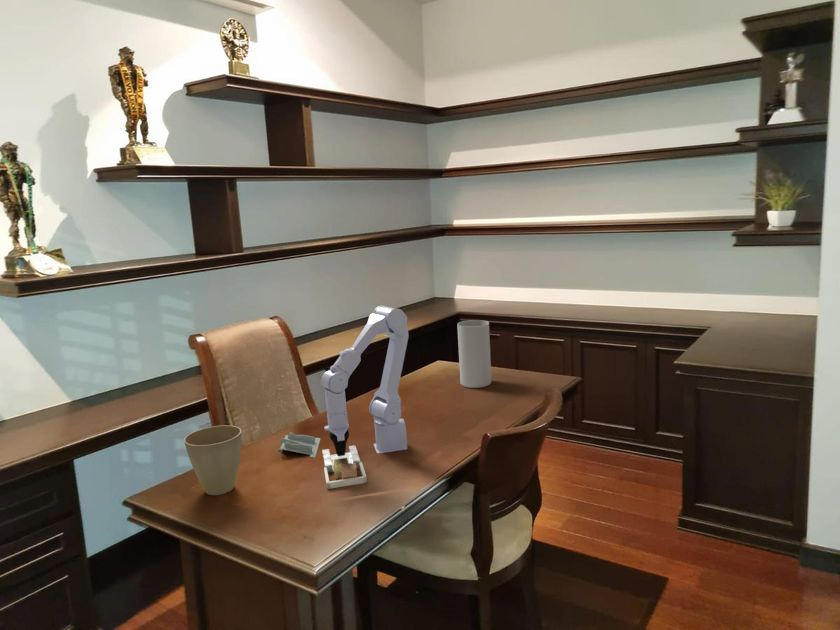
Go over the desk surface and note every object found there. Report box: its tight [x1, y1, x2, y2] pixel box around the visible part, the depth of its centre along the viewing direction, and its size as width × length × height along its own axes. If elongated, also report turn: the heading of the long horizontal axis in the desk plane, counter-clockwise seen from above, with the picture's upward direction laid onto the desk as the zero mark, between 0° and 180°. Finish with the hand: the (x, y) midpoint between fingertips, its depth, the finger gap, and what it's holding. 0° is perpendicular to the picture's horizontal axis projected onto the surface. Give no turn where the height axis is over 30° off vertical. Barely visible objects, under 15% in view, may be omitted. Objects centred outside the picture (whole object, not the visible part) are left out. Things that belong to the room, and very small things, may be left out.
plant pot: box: [183, 424, 242, 496], centre depth 170 cm, size 15×15×16 cm
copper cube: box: [341, 463, 358, 480], centre depth 171 cm, size 4×4×4 cm
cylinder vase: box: [456, 319, 492, 389], centre depth 249 cm, size 12×12×25 cm
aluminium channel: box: [321, 444, 361, 473], centre depth 183 cm, size 10×12×3 cm
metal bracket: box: [278, 431, 321, 459], centre depth 195 cm, size 14×6×15 cm
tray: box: [323, 461, 368, 490], centre depth 172 cm, size 11×10×2 cm
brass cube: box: [333, 458, 349, 480], centre depth 174 cm, size 4×4×4 cm
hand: (341, 455), depth 183 cm, fingers closed
